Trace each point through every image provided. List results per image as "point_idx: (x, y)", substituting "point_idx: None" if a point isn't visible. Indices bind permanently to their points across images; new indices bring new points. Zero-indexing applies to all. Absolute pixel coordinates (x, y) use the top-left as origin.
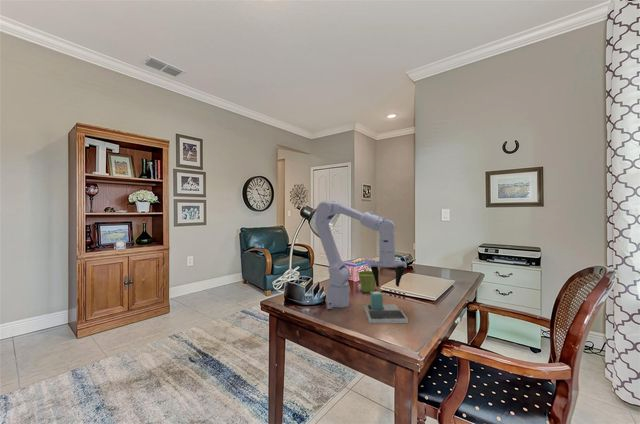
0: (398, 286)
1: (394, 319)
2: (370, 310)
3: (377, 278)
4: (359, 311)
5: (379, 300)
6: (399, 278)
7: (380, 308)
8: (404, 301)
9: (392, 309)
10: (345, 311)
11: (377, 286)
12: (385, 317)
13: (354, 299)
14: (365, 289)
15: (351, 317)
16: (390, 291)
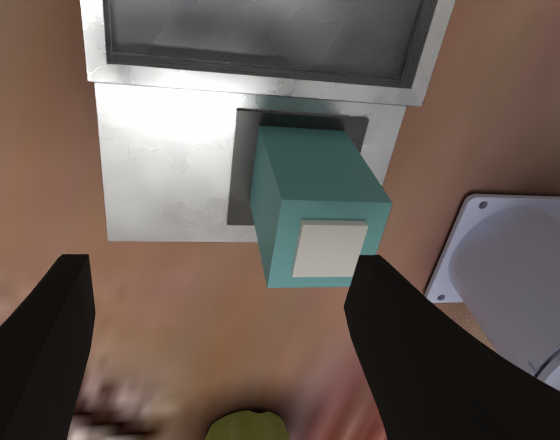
0: (65, 255)
1: None
2: (390, 88)
3: (440, 333)
4: (422, 156)
5: (304, 170)
6: (8, 347)
7: (281, 134)
8: (18, 305)
9: (161, 149)
10: (515, 162)
11: (378, 255)
12: None
13: None
14: (272, 428)
15: (528, 56)
16: (96, 433)
